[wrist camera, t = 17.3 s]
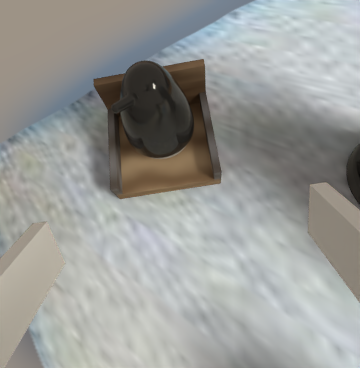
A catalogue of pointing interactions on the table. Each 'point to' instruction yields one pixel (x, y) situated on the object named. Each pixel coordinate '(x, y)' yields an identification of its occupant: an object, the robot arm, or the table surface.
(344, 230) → the robot arm
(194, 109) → the stand
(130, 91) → the pump dispenser
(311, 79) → the table surface
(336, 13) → the table surface
